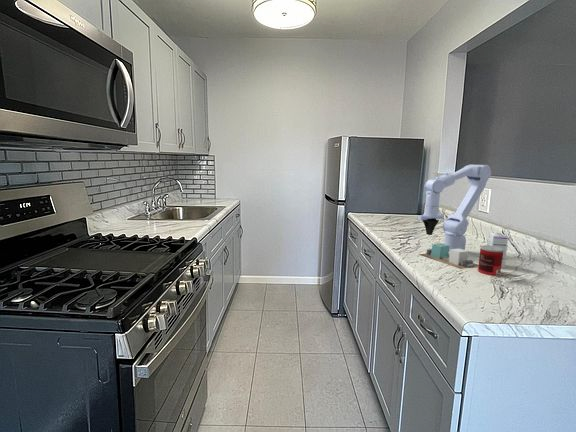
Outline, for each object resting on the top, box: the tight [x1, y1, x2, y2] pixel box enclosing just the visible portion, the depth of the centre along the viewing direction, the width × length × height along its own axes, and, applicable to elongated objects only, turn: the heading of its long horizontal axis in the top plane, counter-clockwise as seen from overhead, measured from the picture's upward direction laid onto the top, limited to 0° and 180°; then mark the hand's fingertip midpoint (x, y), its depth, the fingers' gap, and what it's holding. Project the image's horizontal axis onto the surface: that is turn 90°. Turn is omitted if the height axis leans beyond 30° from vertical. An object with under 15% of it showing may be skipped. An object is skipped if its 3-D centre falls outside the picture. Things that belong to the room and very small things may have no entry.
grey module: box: [448, 248, 469, 265], centre depth 144 cm, size 6×4×6 cm
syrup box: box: [487, 232, 509, 269], centre depth 142 cm, size 6×6×14 cm
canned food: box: [477, 244, 503, 277], centre depth 133 cm, size 8×8×11 cm
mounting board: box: [418, 252, 478, 270], centre depth 149 cm, size 12×22×1 cm, turn 26°
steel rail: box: [425, 248, 474, 268], centre depth 149 cm, size 4×21×2 cm, turn 26°
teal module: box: [431, 243, 450, 259], centre depth 152 cm, size 6×4×6 cm
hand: (429, 234), depth 160 cm, fingers closed
